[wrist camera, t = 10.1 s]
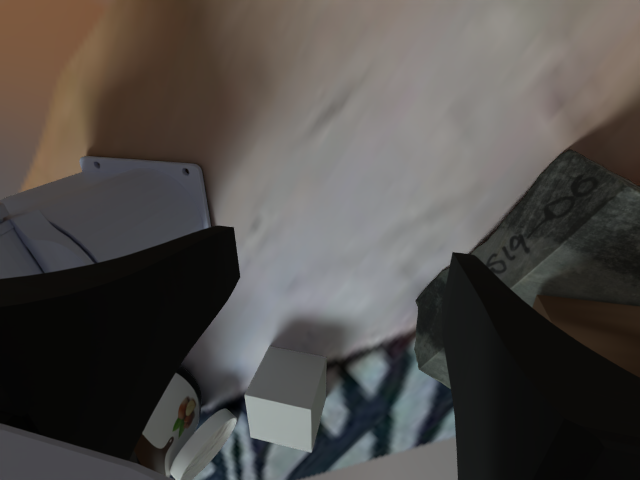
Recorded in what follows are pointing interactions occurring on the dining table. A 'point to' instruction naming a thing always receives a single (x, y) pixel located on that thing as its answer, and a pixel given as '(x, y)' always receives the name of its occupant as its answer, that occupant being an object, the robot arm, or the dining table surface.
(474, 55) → the dining table surface
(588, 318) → the walnut cube
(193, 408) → the spread jar
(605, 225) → the stone block
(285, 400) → the grey cube
